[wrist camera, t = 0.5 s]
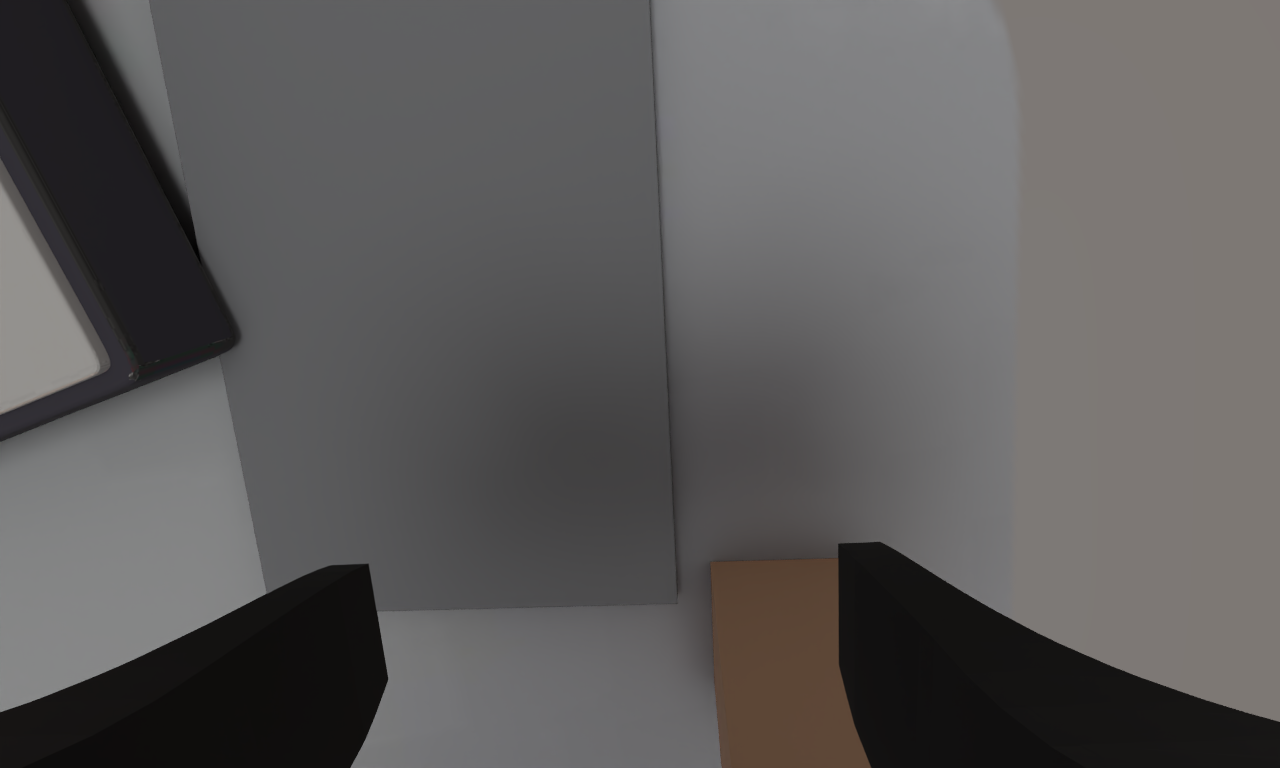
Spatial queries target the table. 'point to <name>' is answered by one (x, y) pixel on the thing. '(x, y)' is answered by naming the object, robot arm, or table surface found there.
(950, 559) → the table surface
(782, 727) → the block
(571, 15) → the mat
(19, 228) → the calculator
